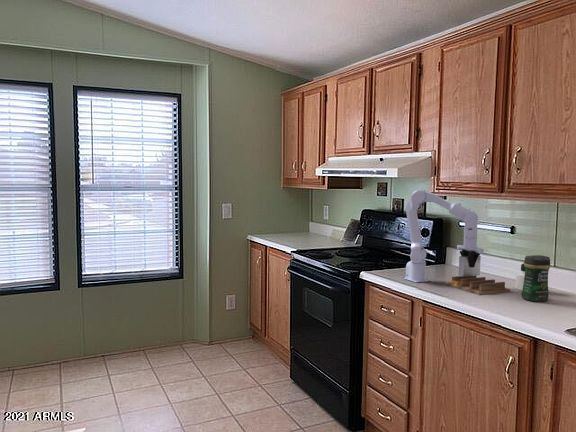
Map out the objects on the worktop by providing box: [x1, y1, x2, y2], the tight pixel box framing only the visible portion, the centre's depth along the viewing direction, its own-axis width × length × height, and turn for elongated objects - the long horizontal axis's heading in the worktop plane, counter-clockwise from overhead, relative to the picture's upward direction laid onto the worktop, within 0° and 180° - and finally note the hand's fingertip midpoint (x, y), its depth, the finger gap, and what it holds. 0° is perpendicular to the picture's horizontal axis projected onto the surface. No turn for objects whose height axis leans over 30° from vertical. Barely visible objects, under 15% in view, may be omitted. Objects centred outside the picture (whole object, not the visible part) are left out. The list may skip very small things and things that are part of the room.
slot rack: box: [446, 275, 511, 295], centre depth 220 cm, size 20×18×4 cm
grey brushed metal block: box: [458, 255, 482, 277], centre depth 225 cm, size 3×10×9 cm, turn 113°
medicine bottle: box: [514, 262, 525, 292], centre depth 217 cm, size 7×7×12 cm
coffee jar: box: [521, 254, 551, 303], centre depth 200 cm, size 10×8×19 cm
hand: (469, 266), depth 225 cm, fingers closed on grey brushed metal block, 3 cm apart
